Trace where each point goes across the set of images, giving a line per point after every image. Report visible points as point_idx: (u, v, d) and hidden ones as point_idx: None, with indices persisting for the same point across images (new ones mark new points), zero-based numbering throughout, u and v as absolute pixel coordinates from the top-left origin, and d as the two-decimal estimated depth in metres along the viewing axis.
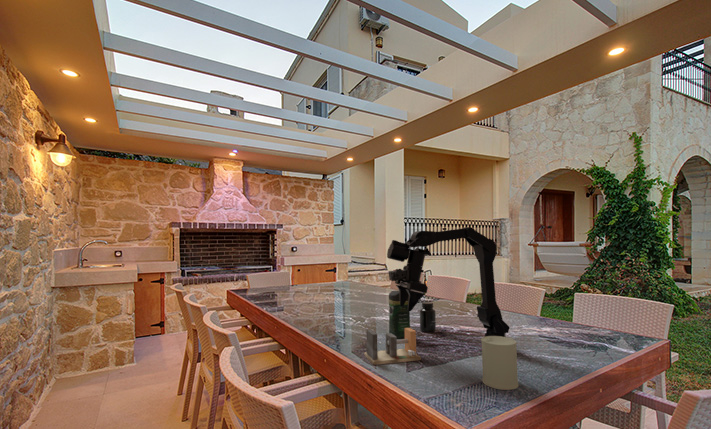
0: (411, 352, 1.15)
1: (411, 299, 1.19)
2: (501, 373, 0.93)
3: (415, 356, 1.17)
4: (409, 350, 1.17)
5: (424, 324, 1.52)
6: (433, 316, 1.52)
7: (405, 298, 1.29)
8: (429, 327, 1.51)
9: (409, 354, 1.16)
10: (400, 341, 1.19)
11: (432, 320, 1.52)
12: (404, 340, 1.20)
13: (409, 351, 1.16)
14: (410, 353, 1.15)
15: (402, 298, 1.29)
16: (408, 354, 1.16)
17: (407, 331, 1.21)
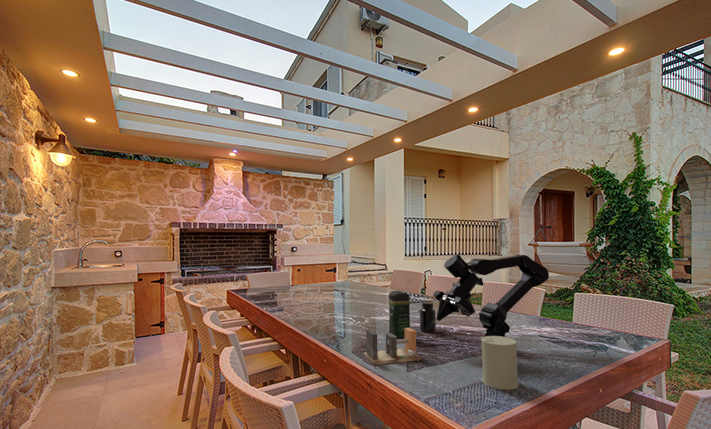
0: (411, 352, 1.15)
1: None
2: (501, 373, 0.93)
3: (415, 356, 1.17)
4: (409, 350, 1.17)
5: (424, 324, 1.52)
6: (433, 316, 1.52)
7: None
8: (429, 327, 1.51)
9: (409, 354, 1.16)
10: (400, 341, 1.19)
11: (432, 320, 1.52)
12: (404, 340, 1.20)
13: (409, 351, 1.16)
14: (410, 353, 1.15)
15: None
16: (408, 354, 1.16)
17: (407, 331, 1.21)
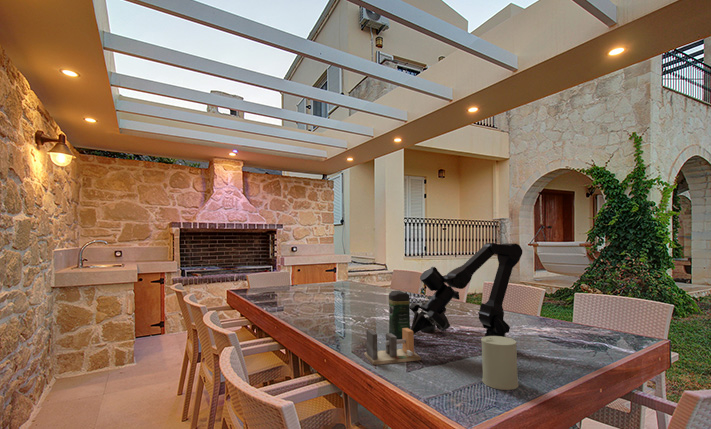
0: (410, 352, 1.15)
1: None
2: (501, 373, 0.93)
3: (415, 356, 1.17)
4: (408, 350, 1.16)
5: None
6: None
7: None
8: (429, 327, 1.51)
9: (408, 354, 1.16)
10: (398, 341, 1.19)
11: None
12: (402, 340, 1.20)
13: (408, 351, 1.16)
14: (409, 353, 1.15)
15: None
16: (407, 354, 1.16)
17: (405, 331, 1.20)
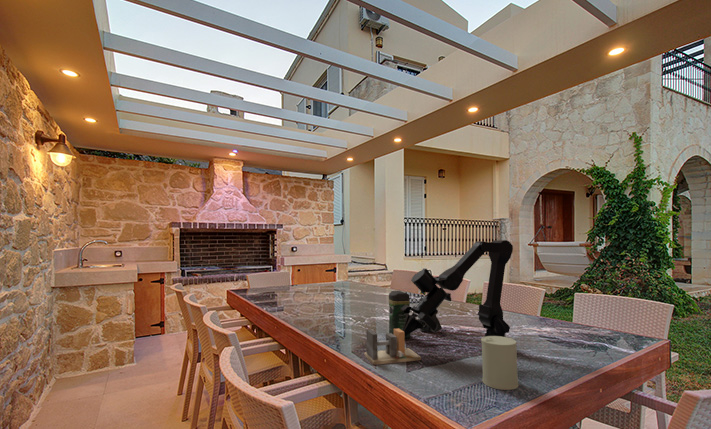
0: (401, 353, 1.14)
1: None
2: (501, 373, 0.93)
3: (415, 356, 1.17)
4: (399, 351, 1.16)
5: None
6: None
7: None
8: None
9: (399, 355, 1.15)
10: None
11: None
12: None
13: (399, 352, 1.15)
14: (400, 354, 1.14)
15: None
16: (398, 355, 1.15)
17: (396, 332, 1.20)
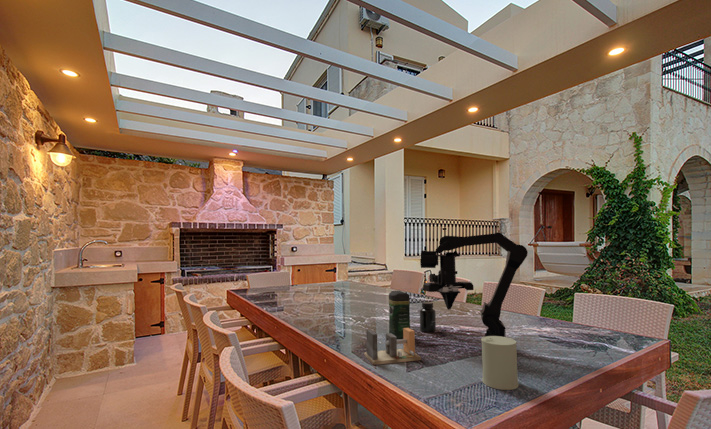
0: (401, 353, 1.14)
1: (444, 298, 1.35)
2: (501, 373, 0.93)
3: (415, 356, 1.17)
4: (399, 351, 1.16)
5: (424, 324, 1.52)
6: (433, 316, 1.52)
7: (450, 301, 1.34)
8: (429, 327, 1.51)
9: (399, 355, 1.15)
10: (399, 341, 1.19)
11: (432, 320, 1.52)
12: (403, 340, 1.20)
13: (399, 352, 1.15)
14: (400, 354, 1.14)
15: None
16: (398, 355, 1.15)
17: (406, 331, 1.21)
